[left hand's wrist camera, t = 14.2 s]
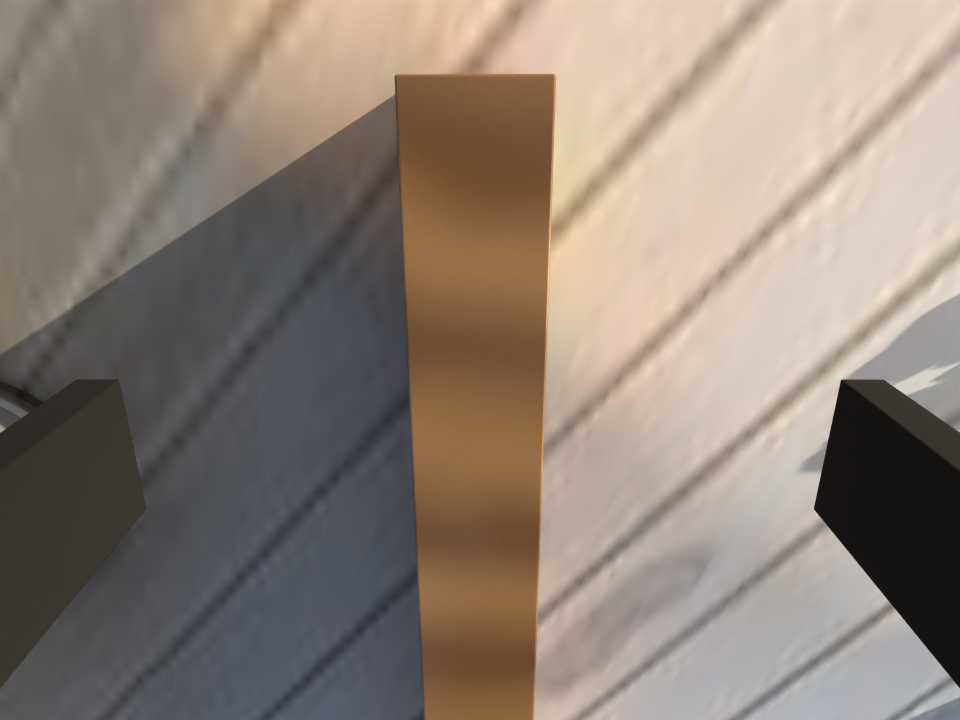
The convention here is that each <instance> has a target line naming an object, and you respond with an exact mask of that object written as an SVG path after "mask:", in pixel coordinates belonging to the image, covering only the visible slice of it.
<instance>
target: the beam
mask: <svg viewBox="0 0 960 720" xmlns="http://www.w3.org/2000/svg"><path fill="white" fill-rule="evenodd" d="M555 94H556V75H555V74H424V75H395V97H396V119H397V141H398V163H399V185H400V207H401V229H402V251H403V273H404V295H405V317H406V339H407V361H408V383H409V405H410V427H411V449H412V471H413V492H414V514H415V536H416V558H417V580H418V602H419V624H420V646H421V668H422V690H423V712H424V720H534V704H535V675H536V646H537V617H538V588H539V559H540V529H541V500H542V471H543V442H544V413H545V384H546V355H547V326H548V297H549V268H550V239H551V210H552V181H553V152H554V123H555Z"/></svg>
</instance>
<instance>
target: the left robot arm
mask: <svg viewBox="0 0 960 720" xmlns="http://www.w3.org/2000/svg"><path fill="white" fill-rule="evenodd" d="M145 510H146V506H145V501H144V496H143V492H142V487H141V482H140V478H139V473H138V468H137V463H136V459H135V454H134V449H133V444H132V440H131V435H130V430H129V425H128V421H127V416H126V411H125V407H124V402H123V397H122V392H121V388H120V383H119V380H75V381H74V382H73V383H71V384H70V385H68V386H67V387H65V388H64V389H63V390H61V391H60V392H58V393H57V394H55V395H54V396H52V397H51V398H50V399H48V400H47V401H45V402H44V403H41V402H39V401H38V400H36V399H35V398H33V397H31V396H29V395H27V394H26V393H24V392H22V391H20V390H18V389H16V388H13V387H11V386H9V385H6V384H4V383H1V382H0V688H1V686H2V685H3V684H4V683H5V681H6V680H7V679H8V678H9V677H10V675H11V674H12V673H13V672H14V670H15V669H16V668H17V667H18V666H19V664H20V663H21V662H22V661H23V659H24V658H25V657H26V656H27V655H28V653H29V652H30V651H31V650H32V648H33V647H34V646H35V645H36V643H37V642H38V641H39V640H40V639H41V637H42V636H43V635H44V634H45V632H46V631H47V630H48V629H49V628H50V626H51V625H52V624H53V623H54V621H55V620H56V619H57V618H58V616H59V615H60V614H61V613H62V612H63V610H64V609H65V608H66V607H67V605H68V604H69V603H70V602H71V601H72V599H73V598H74V597H75V596H76V594H77V593H78V592H79V591H80V589H81V588H82V587H83V586H84V585H85V583H86V582H87V581H88V580H89V578H90V577H91V576H92V575H93V574H94V572H95V571H96V570H97V569H98V567H99V566H100V565H101V564H102V562H103V561H104V560H105V559H106V558H107V556H108V555H109V554H110V553H111V551H112V550H113V549H114V548H115V547H116V545H117V544H118V543H119V542H120V540H121V539H122V538H123V537H124V535H125V534H126V533H127V532H128V531H129V529H130V528H131V527H132V526H133V524H134V523H135V522H136V521H137V520H138V518H139V517H140V516H141V515H142V513H143V512H144V511H145ZM814 510H815V511H816V512H817V513H818V515H819V516H820V517H821V518H822V520H823V521H824V522H825V523H826V524H827V526H828V527H829V528H830V529H831V531H832V532H833V533H834V534H835V535H836V537H837V538H838V539H839V540H840V542H841V543H842V544H843V545H844V547H845V548H846V549H847V550H848V551H849V553H850V554H851V555H852V556H853V558H854V559H855V560H856V561H857V562H858V564H859V565H860V566H861V567H862V569H863V570H864V571H865V572H866V574H867V575H868V576H869V577H870V578H871V580H872V581H873V582H874V583H875V585H876V586H877V587H878V588H879V589H880V591H881V592H882V593H883V594H884V596H885V597H886V598H887V599H888V601H889V602H890V603H891V604H892V605H893V607H894V608H895V609H896V610H897V612H898V613H899V614H900V615H901V616H902V618H903V619H904V620H905V621H906V623H907V624H908V625H909V626H910V628H911V629H912V630H913V631H914V632H915V634H916V635H917V636H918V637H919V639H920V640H921V641H922V642H923V643H924V645H925V646H926V647H927V648H928V650H929V651H930V652H931V653H932V655H933V656H934V657H935V658H936V659H937V661H938V662H939V663H940V664H941V666H942V667H943V668H944V669H945V670H946V672H947V673H948V674H949V675H950V677H951V678H952V679H953V680H954V681H955V683H956V684H957V685H958V686H959V688H960V433H959V432H958V431H956V430H955V429H954V428H952V427H951V426H949V425H948V424H946V423H945V422H943V421H942V420H941V419H939V418H938V417H936V416H935V415H933V414H932V413H931V412H929V411H928V410H926V409H925V408H923V407H922V406H920V405H919V404H918V403H916V402H915V401H913V400H912V399H910V398H909V397H908V396H906V395H905V394H903V393H902V392H900V391H899V390H897V389H896V388H895V387H893V386H892V385H890V384H889V383H887V382H886V381H885V380H841V383H840V388H839V392H838V397H837V402H836V407H835V411H834V416H833V421H832V425H831V430H830V435H829V440H828V444H827V449H826V454H825V459H824V463H823V468H822V473H821V478H820V482H819V487H818V492H817V496H816V501H815V506H814Z"/></svg>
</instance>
